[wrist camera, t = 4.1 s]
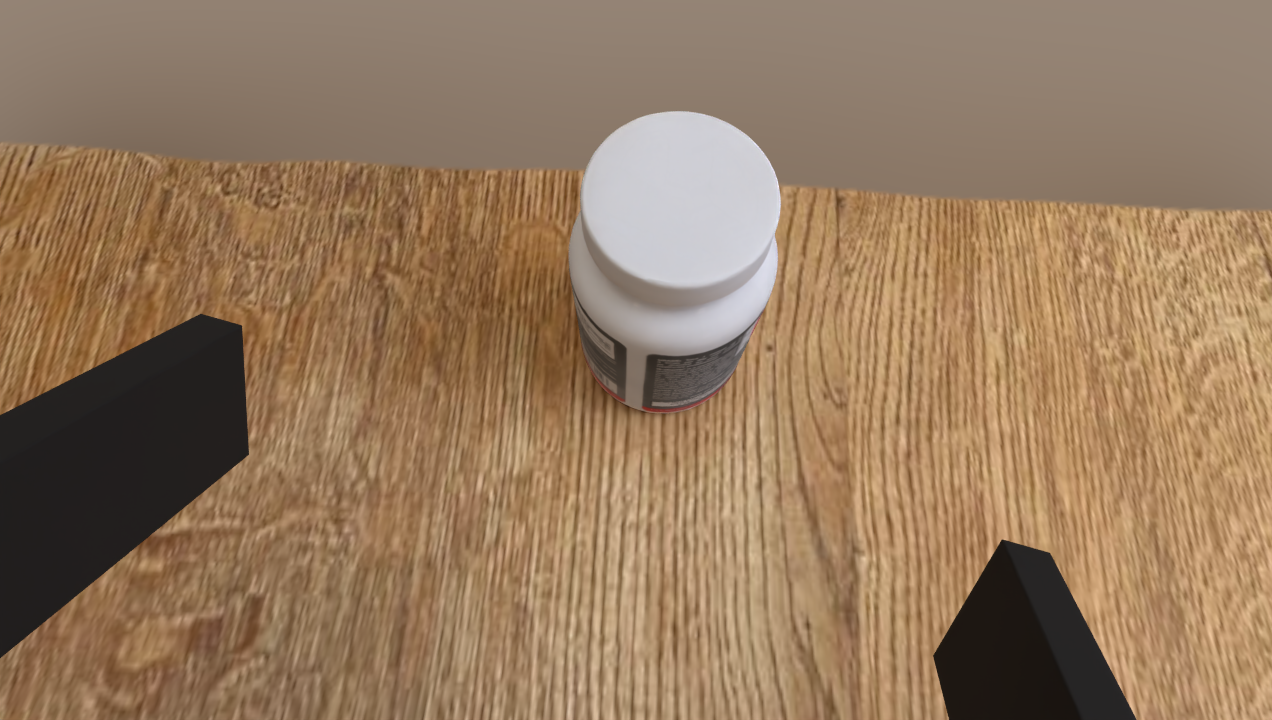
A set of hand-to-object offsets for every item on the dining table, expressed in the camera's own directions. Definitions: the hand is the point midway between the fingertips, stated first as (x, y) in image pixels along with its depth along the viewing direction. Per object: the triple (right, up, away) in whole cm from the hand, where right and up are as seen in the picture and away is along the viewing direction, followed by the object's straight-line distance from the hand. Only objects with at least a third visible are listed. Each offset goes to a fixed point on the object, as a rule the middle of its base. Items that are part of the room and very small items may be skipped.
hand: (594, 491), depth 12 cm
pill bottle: (+2, +3, +14) cm, 14 cm away
